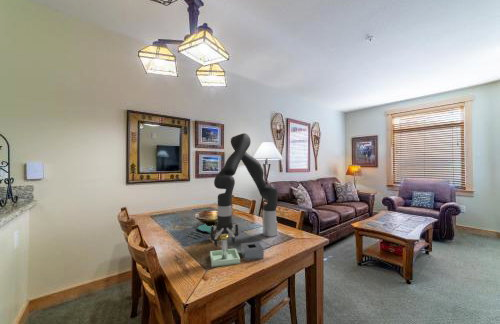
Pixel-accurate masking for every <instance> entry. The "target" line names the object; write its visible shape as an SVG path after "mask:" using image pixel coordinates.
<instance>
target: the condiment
mask: <svg viewBox="0 0 500 324" xmlns="http://www.w3.org/2000/svg"><path fill="white" fill-rule="evenodd" d="M214 222H215V225H214V226H217V219H216V220H214ZM217 231H218V230H217V228H216V229H215V230H214V232H213V235H214V236H215V234H216V232H217ZM220 235H222V234H220ZM220 235H219V236H218V238H217V243H218V242H222V239H221V238H220ZM209 240H210V242H212V243H213V244H214V239H213V238H212V239H211V237H210V238H209Z"/></svg>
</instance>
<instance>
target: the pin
mask: <svg viewBox="0 0 500 324" xmlns="http://www.w3.org/2000/svg"><path fill="white" fill-rule="evenodd" d="M220 238H221V239H222V241H221V250H222V259H223V260H226V259H228V249H229V247H228V246H229V244H228V239H229V238H230V234H229V233H228V234H222V235H220Z"/></svg>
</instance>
